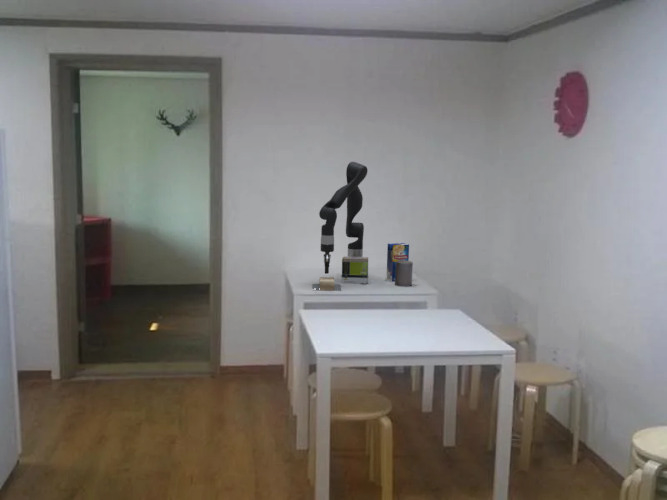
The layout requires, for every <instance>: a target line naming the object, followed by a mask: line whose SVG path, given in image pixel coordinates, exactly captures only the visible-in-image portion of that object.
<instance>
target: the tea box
mask: <svg viewBox="0 0 667 500" xmlns="http://www.w3.org/2000/svg"><path fill="white" fill-rule="evenodd" d="M368 281H369V257H368V256H363V257H348V256H343V257H342V259H341V283H343V284H362V285H365V284H368Z"/></svg>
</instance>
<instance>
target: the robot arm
mask: <svg viewBox="0 0 667 500" xmlns="http://www.w3.org/2000/svg"><path fill="white" fill-rule="evenodd" d="M345 175H346V176H345V177H346V184H345V185H343V186H341V187H340V188H338V189H337V190H336V191H335V192H334V194H333V195H332V196H331V198H330V199H329V200H328V201H327V202H326V203H325V204H323V206H322V207H321V208H320V209H319V213H318V215H319V218H320V219H321V220H324V221H325V224H322V226H321V230H320V231H321V236H320V252H322V253H324V254H323V263H324V264H323V265H324V274H330V272H329V270H330V263H331V257H332V256H331V254H330V253H333V252H334V251H335V236H334V235H335V225H336V223H337V220H338V219H337V218H338V215H337V209H339V208H341V207H342V205H343V204H344V203H345V202H346V221H345V222H346V224H345V235H346V237H347V238H353V239H354V238H356V240H355V241H353V242H349V243H348V244H347V257H364V255H363V252H364V249H363V248H364V230H365V227H364V223H363V222H355V221H354V222H353V220H354V218H355V217H356V216H357V215H358V214H359V212H361V209H362V207H363V194H362V191H361V189H360V187H359V185H360V184H361V183H362V182H363V181H364V180H365V179H366V177H367V175H368V168H367V166H366V165H364V164H361V163H358V162H356V161H350V162H349V163H348V164H347V166H346V173H345Z"/></svg>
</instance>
